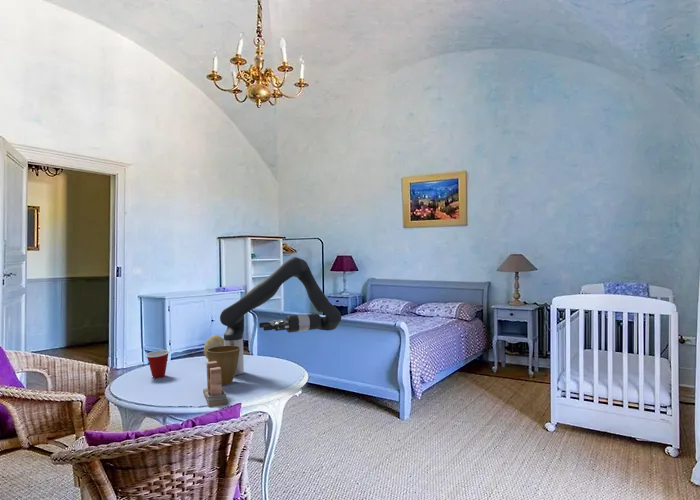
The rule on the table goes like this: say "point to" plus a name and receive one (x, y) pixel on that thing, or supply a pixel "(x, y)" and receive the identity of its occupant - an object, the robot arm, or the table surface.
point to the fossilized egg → (213, 343)
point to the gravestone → (210, 399)
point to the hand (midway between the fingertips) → (261, 326)
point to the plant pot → (225, 361)
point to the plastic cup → (158, 362)
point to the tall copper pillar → (215, 381)
